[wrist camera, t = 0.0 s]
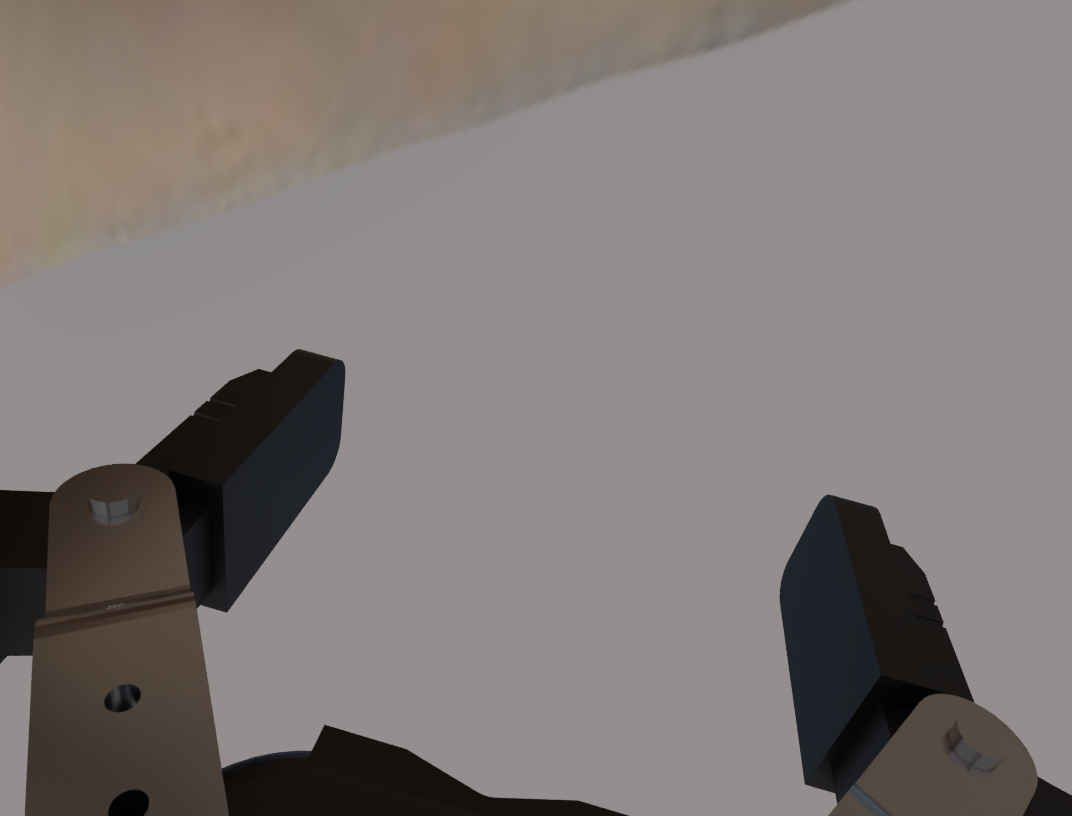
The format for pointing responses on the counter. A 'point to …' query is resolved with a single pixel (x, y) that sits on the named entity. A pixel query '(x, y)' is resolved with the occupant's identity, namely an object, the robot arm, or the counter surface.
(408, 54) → the counter surface
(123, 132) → the counter surface
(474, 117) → the counter surface
